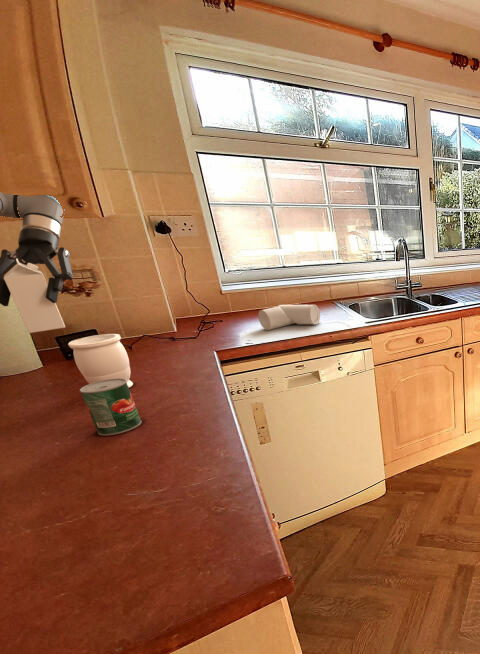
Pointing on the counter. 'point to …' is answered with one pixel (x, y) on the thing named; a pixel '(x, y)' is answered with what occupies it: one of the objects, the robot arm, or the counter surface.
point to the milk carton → (32, 298)
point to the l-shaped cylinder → (288, 315)
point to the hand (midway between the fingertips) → (26, 301)
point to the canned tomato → (111, 406)
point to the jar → (101, 358)
